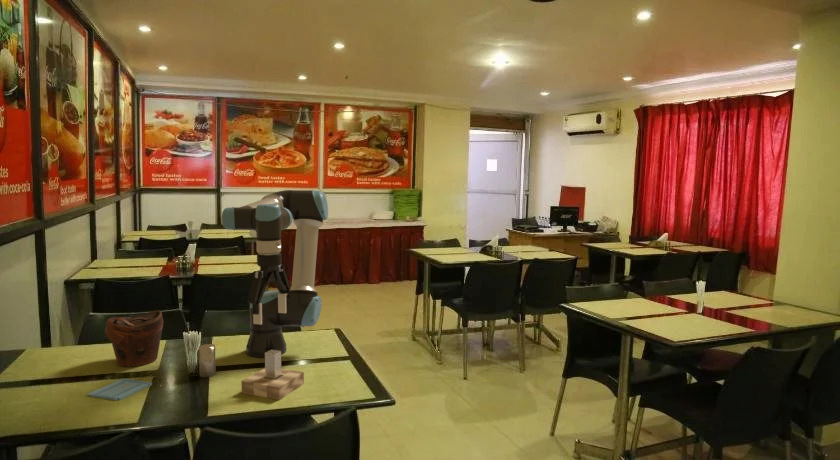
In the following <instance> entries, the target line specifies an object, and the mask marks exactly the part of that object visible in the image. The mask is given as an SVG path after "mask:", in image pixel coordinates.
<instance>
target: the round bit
mask: <svg viewBox="0 0 840 460" xmlns="http://www.w3.org/2000/svg"><path fill="white" fill-rule="evenodd" d="M198 363H199V377H201V378H211V377H214V376H215V375H217V374H216V373H217V367H216V344H213V343H205V344H204V343H203V344H201V345H200V346H198Z"/></svg>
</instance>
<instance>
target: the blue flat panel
mask: <svg viewBox="0 0 840 460" xmlns="http://www.w3.org/2000/svg"><path fill="white" fill-rule="evenodd" d="M152 385H153V382H148V381H143V380H136V379H132V378H131V379H130V378H129V379H128V378H121V379H119V380H118V379H117V380H116V381H114V382H111V383H109V384H107V385H104V386H102V387H99V388H97V389H95V390H93V391H91V392H89V393H87V396H88V397H93V398H98V399H105V400H110V401H122V400H123V399H126V398H128V397H129V396H132V395H133V394H136V393H138V392H140V391H143V390H145V389H148V388H149V387H151V386H152Z"/></svg>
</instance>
